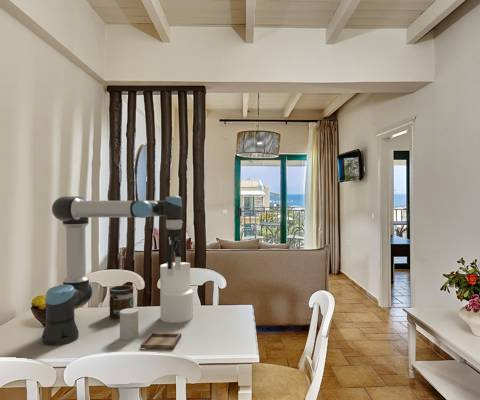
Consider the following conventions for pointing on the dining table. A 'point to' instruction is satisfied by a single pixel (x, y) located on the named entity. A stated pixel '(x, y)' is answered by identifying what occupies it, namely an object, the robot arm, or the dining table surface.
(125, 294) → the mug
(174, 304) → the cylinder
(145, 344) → the tray
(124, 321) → the grey upright rounded piece
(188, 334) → the dining table surface
